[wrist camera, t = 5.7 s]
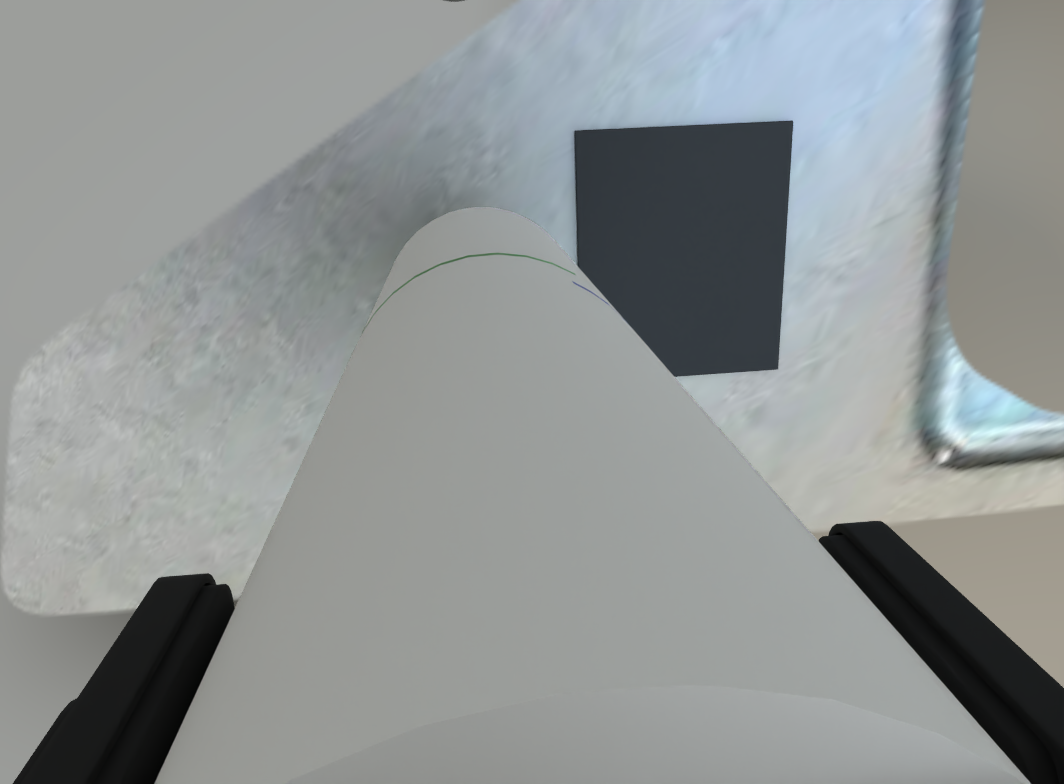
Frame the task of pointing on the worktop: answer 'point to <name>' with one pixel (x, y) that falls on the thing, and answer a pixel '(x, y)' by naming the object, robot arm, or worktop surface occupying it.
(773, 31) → the worktop surface
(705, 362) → the mat
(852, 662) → the cylindrical container
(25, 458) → the worktop surface
